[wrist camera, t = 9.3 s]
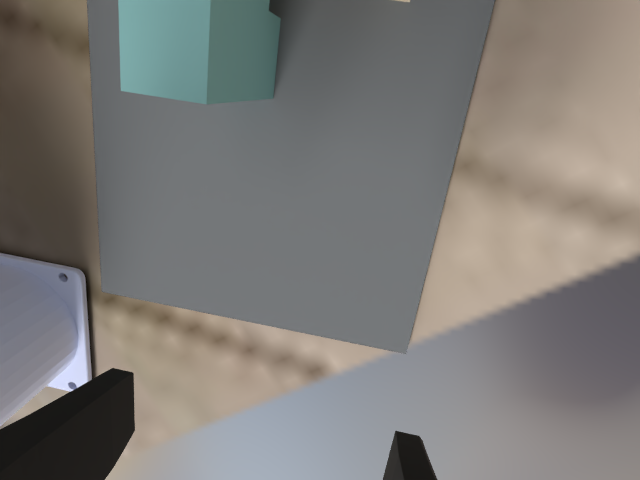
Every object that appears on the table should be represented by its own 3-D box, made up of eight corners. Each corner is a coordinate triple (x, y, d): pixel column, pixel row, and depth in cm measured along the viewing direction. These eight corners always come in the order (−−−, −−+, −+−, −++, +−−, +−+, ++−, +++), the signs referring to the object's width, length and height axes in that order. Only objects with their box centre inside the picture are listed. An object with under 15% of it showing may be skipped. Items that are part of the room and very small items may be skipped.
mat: (106, 288, 23) (101, 291, 22) (84, -195, 16) (77, -202, 15) (405, 349, 21) (406, 354, 21) (531, -153, 14) (534, -160, 14)
